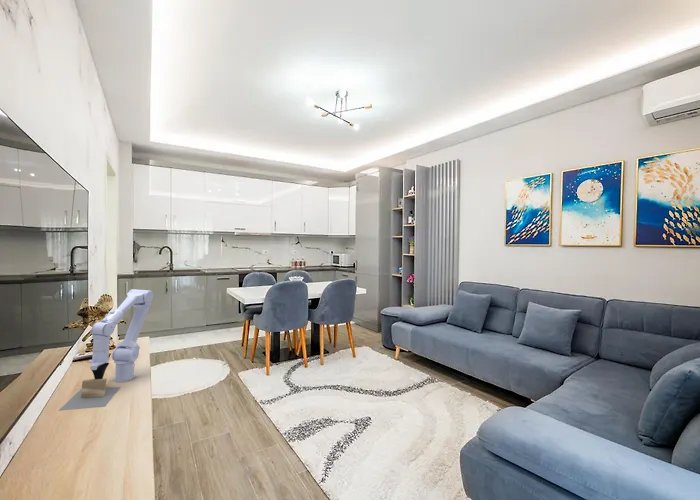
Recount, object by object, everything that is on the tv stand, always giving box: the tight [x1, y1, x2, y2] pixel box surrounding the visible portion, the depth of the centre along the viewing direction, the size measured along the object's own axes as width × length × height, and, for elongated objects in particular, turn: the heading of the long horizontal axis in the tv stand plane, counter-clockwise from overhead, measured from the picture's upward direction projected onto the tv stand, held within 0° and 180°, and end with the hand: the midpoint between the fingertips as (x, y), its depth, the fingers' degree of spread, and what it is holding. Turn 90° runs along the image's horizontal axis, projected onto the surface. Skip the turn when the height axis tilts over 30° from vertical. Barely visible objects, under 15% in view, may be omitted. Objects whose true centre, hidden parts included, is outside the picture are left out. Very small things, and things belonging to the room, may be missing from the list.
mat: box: [58, 386, 121, 411], centre depth 137 cm, size 20×15×1 cm
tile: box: [81, 378, 107, 398], centre depth 138 cm, size 2×8×7 cm, turn 110°
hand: (98, 381), depth 143 cm, fingers closed
